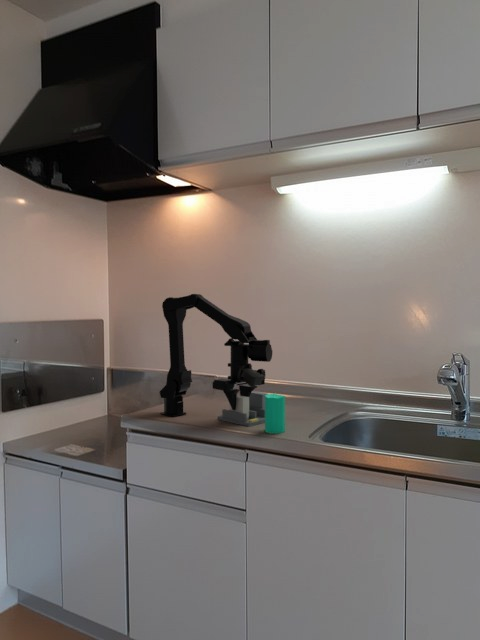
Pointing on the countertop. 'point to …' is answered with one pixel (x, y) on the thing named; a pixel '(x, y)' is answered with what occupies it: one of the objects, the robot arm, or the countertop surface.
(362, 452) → the countertop surface
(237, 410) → the block
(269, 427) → the candle
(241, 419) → the rack
